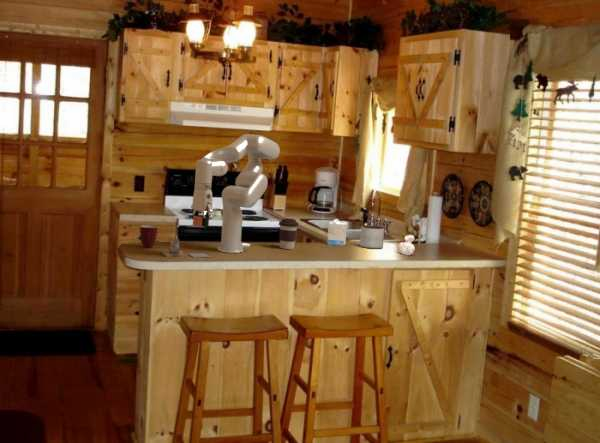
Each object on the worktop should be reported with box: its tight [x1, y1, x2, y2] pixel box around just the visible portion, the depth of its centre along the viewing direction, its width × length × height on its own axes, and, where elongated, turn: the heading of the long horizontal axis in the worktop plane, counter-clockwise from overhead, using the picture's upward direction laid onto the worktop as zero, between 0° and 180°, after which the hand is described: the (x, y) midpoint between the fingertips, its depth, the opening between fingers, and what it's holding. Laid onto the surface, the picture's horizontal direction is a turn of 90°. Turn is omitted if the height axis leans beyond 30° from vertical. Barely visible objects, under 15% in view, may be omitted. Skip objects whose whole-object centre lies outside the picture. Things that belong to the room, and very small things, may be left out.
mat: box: [187, 253, 211, 259], centre depth 378 cm, size 8×8×1 cm
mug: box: [139, 224, 158, 249], centre depth 389 cm, size 11×8×10 cm
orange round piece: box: [192, 214, 204, 228], centre depth 376 cm, size 7×7×5 cm
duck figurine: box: [397, 234, 416, 256], centre depth 426 cm, size 12×8×11 cm
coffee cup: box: [278, 218, 299, 250], centre depth 416 cm, size 10×10×15 cm
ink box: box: [326, 218, 348, 246], centre depth 442 cm, size 9×8×13 cm
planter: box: [359, 224, 385, 250], centre depth 441 cm, size 13×13×11 cm
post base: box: [160, 238, 189, 258], centre depth 375 cm, size 10×10×7 cm
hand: (200, 225), depth 376 cm, fingers closed on orange round piece, 6 cm apart
